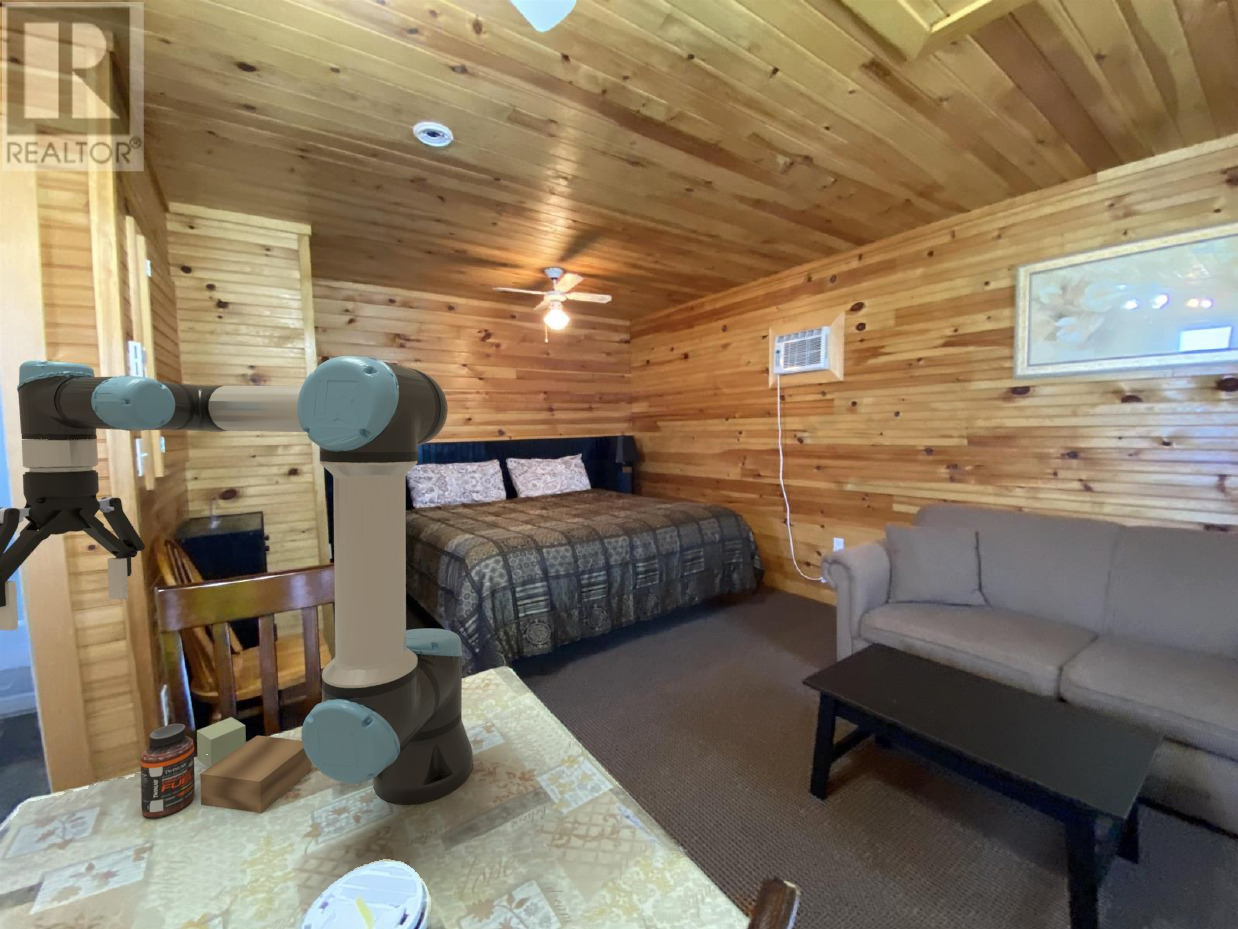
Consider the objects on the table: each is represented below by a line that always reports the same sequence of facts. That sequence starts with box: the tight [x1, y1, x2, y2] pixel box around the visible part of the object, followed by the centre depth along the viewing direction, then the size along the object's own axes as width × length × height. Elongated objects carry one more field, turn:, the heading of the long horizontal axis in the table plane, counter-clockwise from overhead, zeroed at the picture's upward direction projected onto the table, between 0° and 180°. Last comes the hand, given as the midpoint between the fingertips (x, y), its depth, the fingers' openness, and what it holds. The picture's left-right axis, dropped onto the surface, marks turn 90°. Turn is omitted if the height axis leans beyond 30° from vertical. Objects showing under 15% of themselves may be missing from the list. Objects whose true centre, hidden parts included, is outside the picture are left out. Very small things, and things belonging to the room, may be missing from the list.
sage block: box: [196, 716, 247, 768], centre depth 88 cm, size 5×5×5 cm
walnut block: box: [199, 735, 313, 814], centre depth 81 cm, size 10×10×5 cm
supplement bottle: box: [140, 723, 196, 818], centre depth 76 cm, size 6×6×11 cm
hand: (67, 612), depth 77 cm, fingers open, 13 cm apart
